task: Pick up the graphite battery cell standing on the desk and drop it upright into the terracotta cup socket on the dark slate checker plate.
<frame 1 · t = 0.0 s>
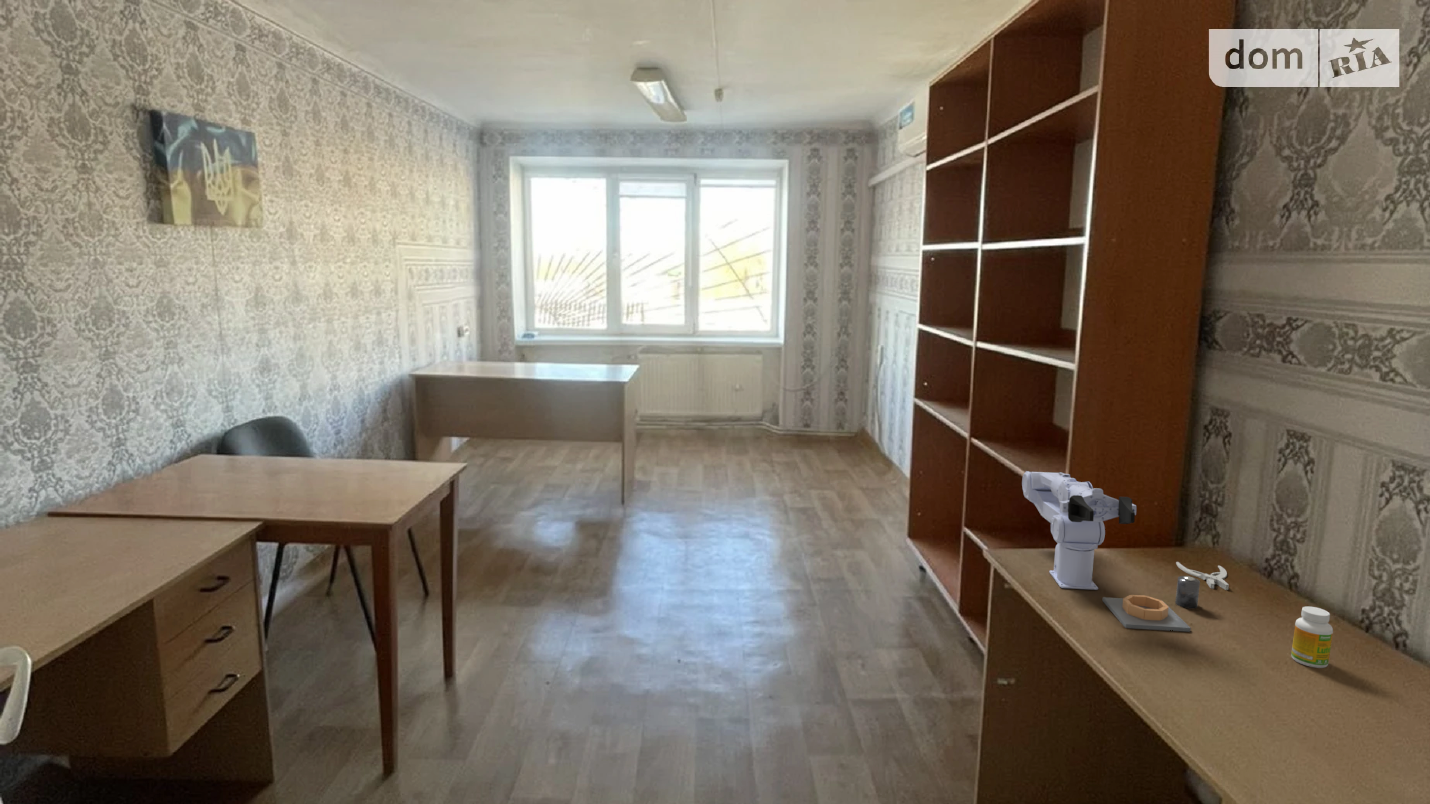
hand: (1112, 516, 153), 22 cm above the table, tool horizontal, fingers open, 7 cm apart
pliers: (1208, 579, 179), on the table
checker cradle: (1144, 615, 158), on the table
supplement bottle: (1309, 662, 140), on the table
cell: (1186, 604, 164), on the table
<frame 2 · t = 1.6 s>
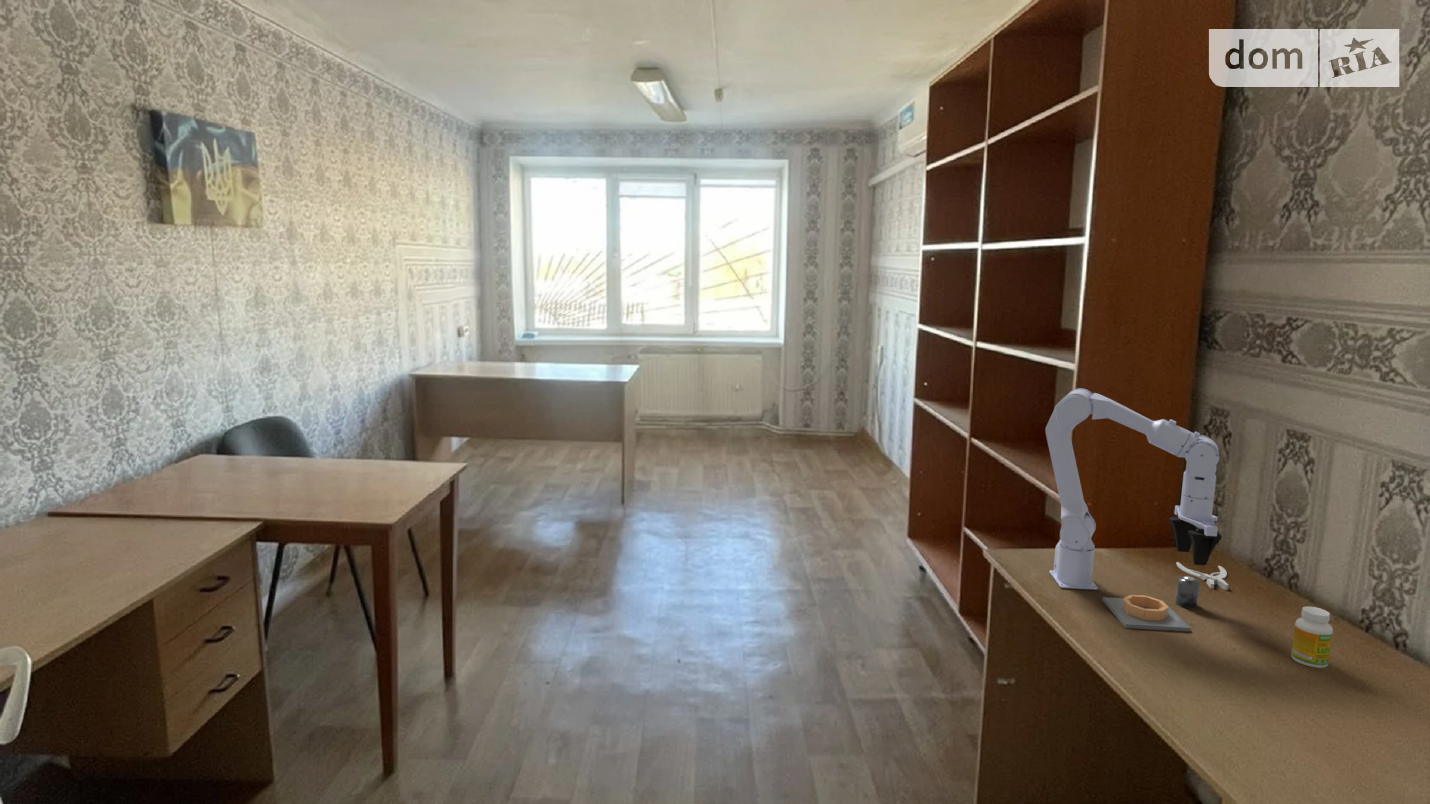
hand: (1191, 557, 162), 10 cm above the table, tool pointing down, fingers open, 7 cm apart
nothing on the table moved.
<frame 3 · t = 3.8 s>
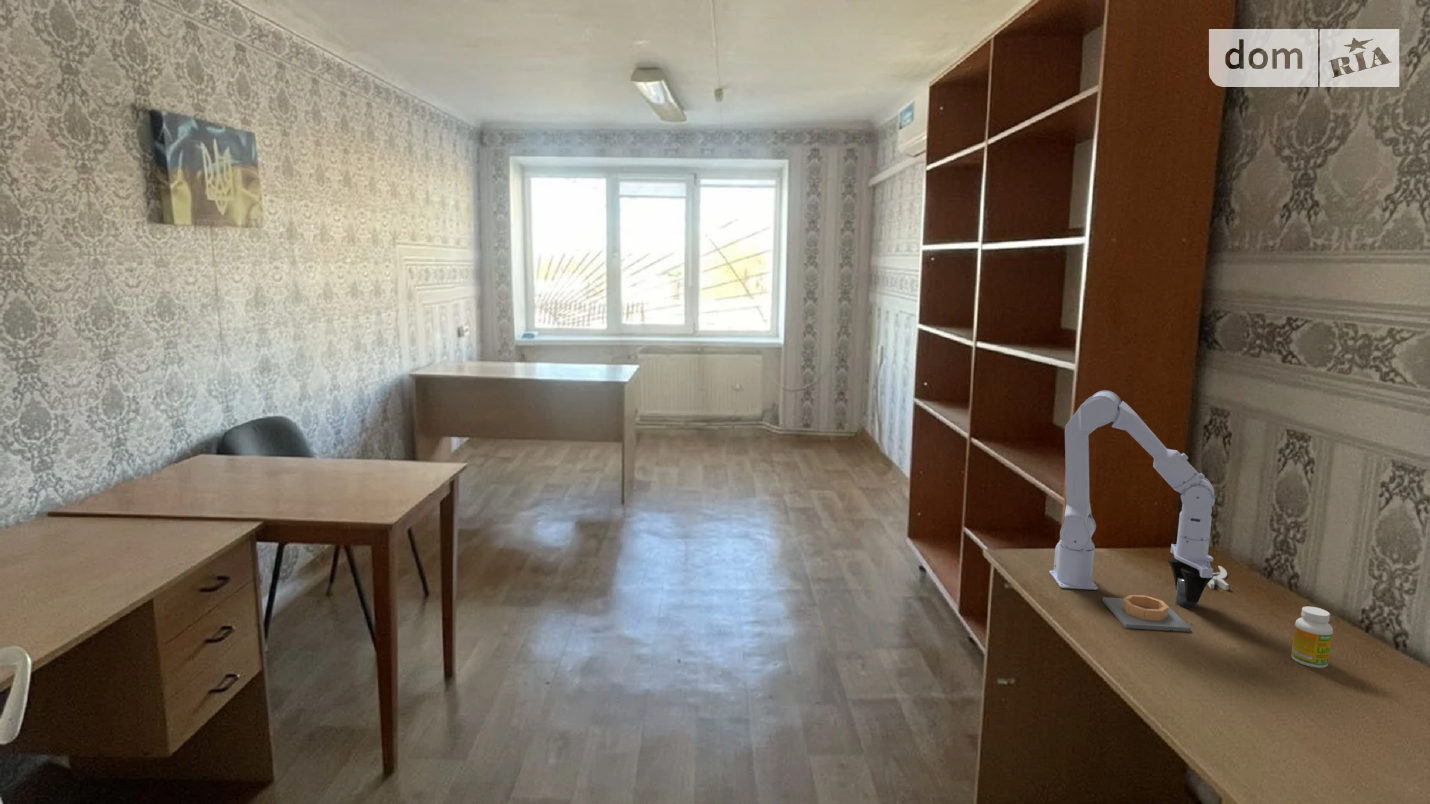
hand: (1187, 597, 163), 2 cm above the table, tool pointing down, fingers closed on cell, 4 cm apart
cell: (1186, 604, 164), on the table, touching gripper
everything else where it was.
when the fingers open (4 cm above the table, at t = 10.0 s): cell drops 1 cm, resting on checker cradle.
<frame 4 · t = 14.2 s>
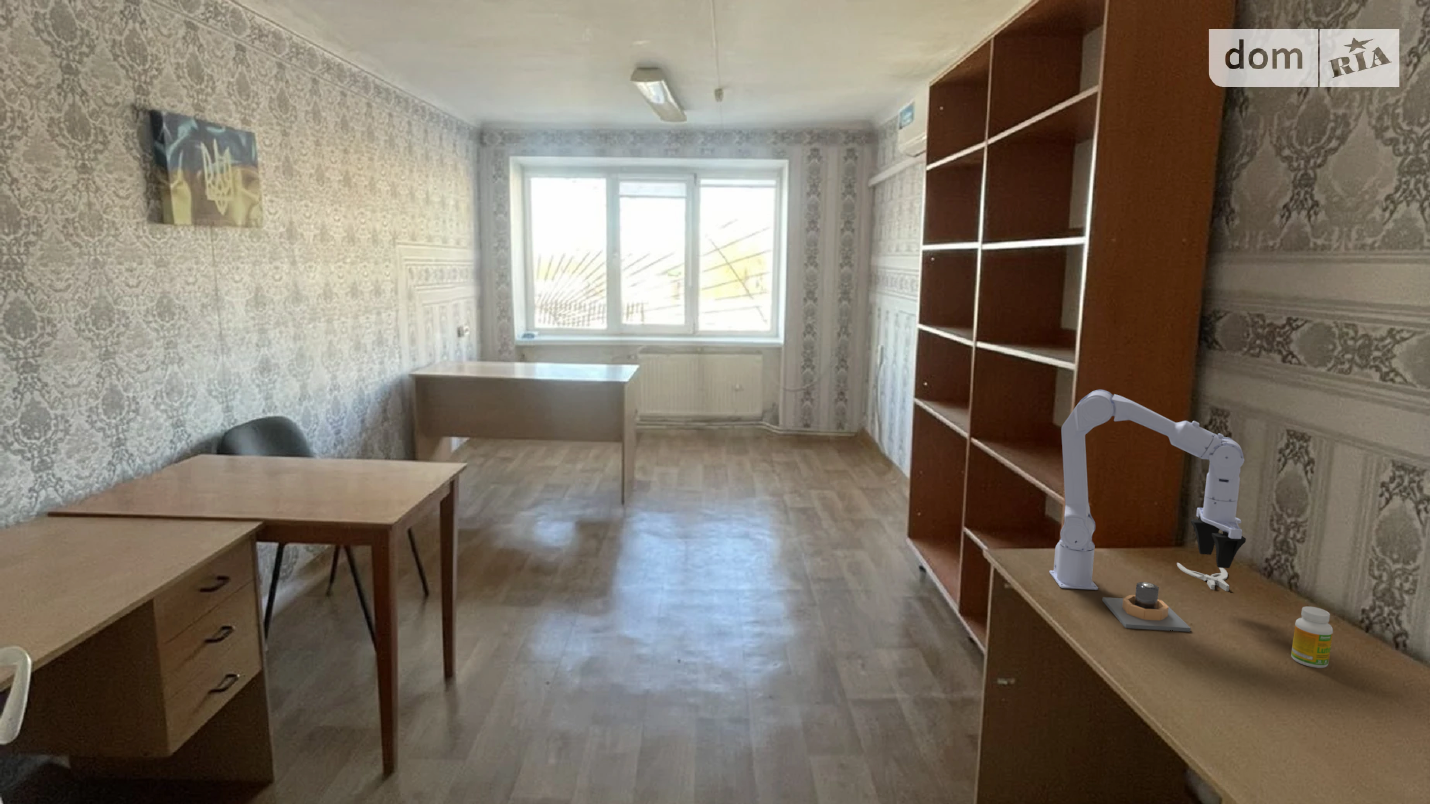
hand: (1214, 560, 160), 10 cm above the table, tool pointing down, fingers open, 7 cm apart
cell: (1144, 611, 158), point 1 cm above the table, touching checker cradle
everything else where it was.
at the end: cell 0.1 cm off-centre on the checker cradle, point 0.9 cm above the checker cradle's base; cell tilted 2°; the gripper is holding nothing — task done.
